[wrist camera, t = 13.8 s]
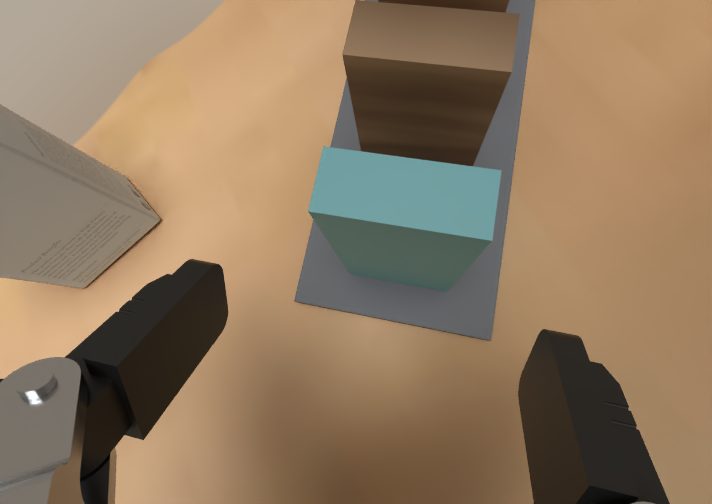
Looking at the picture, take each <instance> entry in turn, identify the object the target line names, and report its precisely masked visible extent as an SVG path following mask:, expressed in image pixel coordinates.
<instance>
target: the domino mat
mask: <svg viewBox="0 0 712 504" xmlns="http://www.w3.org/2000/svg"><path fill="white" fill-rule="evenodd" d="M365 1H372V2H378V0H365ZM534 6H535V0H510V1H509V4H508V7H507V10H506V13H516V14H520V16H519V23H518V30H517V37H516V45H515V52H514V59H513V66H512V73H511V75H510V77H509V80H508V82H507V85H506V87H505V90H504V92H503V94H502V97H501V99H500V102H499V104H498V107H497V109H496V111H495V114H494V116H493V119H492V121H491V124H490V126H489V128H488V131H487V133H486V136H485V138H484V140H483V143H482V145H481V148H480V150H479V153H478V155H477V157H476V160H475V162H474V165H473V167H480V168H487V169H495V170H502V171H501V178H500V186H499V194H498V201H497V209H496V216H495V224H494V232H493V239H492V242H491V243H490V244H489V245H488V246H487V247H486V249H485V250H484V251H483V252H482V253H481V254H480V255H479V256H478V258H477V259H476V260H475V261H474V262H473V263H472V264H471V265H470V267H469V268H468V269H467V270H466V271H465V272H464V273H463V274H462V276H461V277H460V278H459V279H458V280H457V281H456V282H455V283H454V285H453V286H452V287H451V288H450V289H449V290H448V291H447V292H446V291H440V290H435V289H429V288H424V287H418V286H412V285H407V284H401V283H396V282H390V281H385V280H379V279H374V278H368V277H363V276H357V275H352V274H350V273H349V272H348V270H347V269H346V267H345V266H344V264H343V263H342V261H341V260H340V258H339V257H338V255H337V254H336V252H335V251H334V249H333V248H332V246H331V245H330V243H329V242H328V240H327V239H326V237H325V236H324V234H323V233H322V231H321V230H320V228H319V227H318V225H317V224H316V222H315V221H314V219H313V224H312V228H311V232H310V236H309V241H308V245H307V249H306V253H305V258H304V262H303V266H302V270H301V275H300V279H299V283H298V287H297V292H296V296H295V300H294V301H295V302H299V303H304V304H309V305H314V306H319V307H324V308H329V309H334V310H339V311H344V312H349V313H354V314H359V315H364V316H369V317H374V318H379V319H384V320H389V321H394V322H399V323H404V324H409V325H414V326H419V327H424V328H429V329H434V330H439V331H444V332H449V333H454V334H459V335H465V336H470V337H475V338H480V339H485V340H491V337H492V329H493V322H494V314H495V306H496V299H497V291H498V283H499V275H500V268H501V260H502V252H503V245H504V237H505V229H506V221H507V214H508V206H509V198H510V191H511V183H512V175H513V167H514V160H515V152H516V144H517V137H518V129H519V121H520V113H521V106H522V98H523V90H524V83H525V75H526V67H527V60H528V52H529V44H530V36H531V29H532V21H533V13H534ZM331 147H332V148H339V149H347V150H354V151H361V148H360V143H359V138H358V133H357V127H356V122H355V117H354V112H353V107H352V101H351V96H350V91H349V86H348V80H347V79H346V83H345V88H344V92H343V96H342V100H341V105H340V109H339V113H338V117H337V122H336V126H335V130H334V134H333V139H332V143H331Z"/></svg>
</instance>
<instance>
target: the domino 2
mask: <svg viewBox="0 0 712 504" xmlns="http://www.w3.org/2000/svg"><path fill="white" fill-rule="evenodd" d="M501 171H502V170H495V169H487V168H480V167H473V166H465V165H458V164H450V163H443V162H436V161H428V160H421V159H413V158H406V157H399V156H391V155H384V154H376V153H369V152H362V151H354V150H347V149H339V148H332V147H325V146H323V150H322V155H321V159H320V163H319V167H318V172H317V176H316V180H315V185H314V189H313V193H312V197H311V202H310V206H309V210H308V212H309V213H310V215H311V216H312V218H313V219H314V221H315V222H316V224H317V225H318V227H319V228H320V230H321V231H322V233H323V234H324V236H325V237H326V239H327V240H328V242H329V243H330V245H331V246H332V248H333V249H334V251H335V252H336V254H337V255H338V257H339V258H340V260H341V261H342V263H343V264H344V266H345V267H346V269H347V270H348V272H349V273H350V274H352V275H357V276H363V277H368V278H374V279H379V280H385V281H390V282H396V283H401V284H407V285H412V286H418V287H424V288H429V289H435V290H440V291H446V292H447V291H448V290H449V289H450V288H451V287H452V286H453V285H454V283H455V282H456V281H457V280H458V279H459V278H460V277H461V276H462V274H463V273H464V272H465V271H466V270H467V269H468V268H469V267H470V265H471V264H472V263H473V262H474V261H475V260H476V259H477V258H478V256H479V255H480V254H481V253H482V252H483V251H484V250H485V249H486V247H487V246H488V245H489V244H490V243H491V242H492V239H493V232H494V224H495V216H496V209H497V201H498V194H499V186H500V178H501Z"/></svg>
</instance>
